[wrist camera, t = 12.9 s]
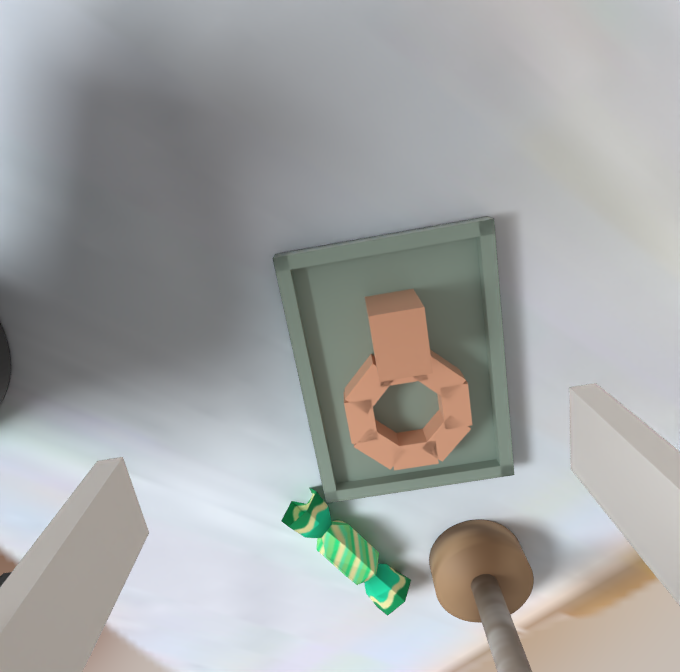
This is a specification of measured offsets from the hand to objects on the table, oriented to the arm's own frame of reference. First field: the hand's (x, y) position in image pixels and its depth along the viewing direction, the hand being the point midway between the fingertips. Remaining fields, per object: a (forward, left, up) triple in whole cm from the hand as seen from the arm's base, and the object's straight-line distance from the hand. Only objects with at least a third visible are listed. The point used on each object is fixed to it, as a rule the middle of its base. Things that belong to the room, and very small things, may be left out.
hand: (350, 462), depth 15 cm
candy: (-3, -22, -24) cm, 32 cm away
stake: (+7, -26, -23) cm, 35 cm away
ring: (+3, -8, -22) cm, 24 cm away
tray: (+3, -7, -23) cm, 24 cm away
